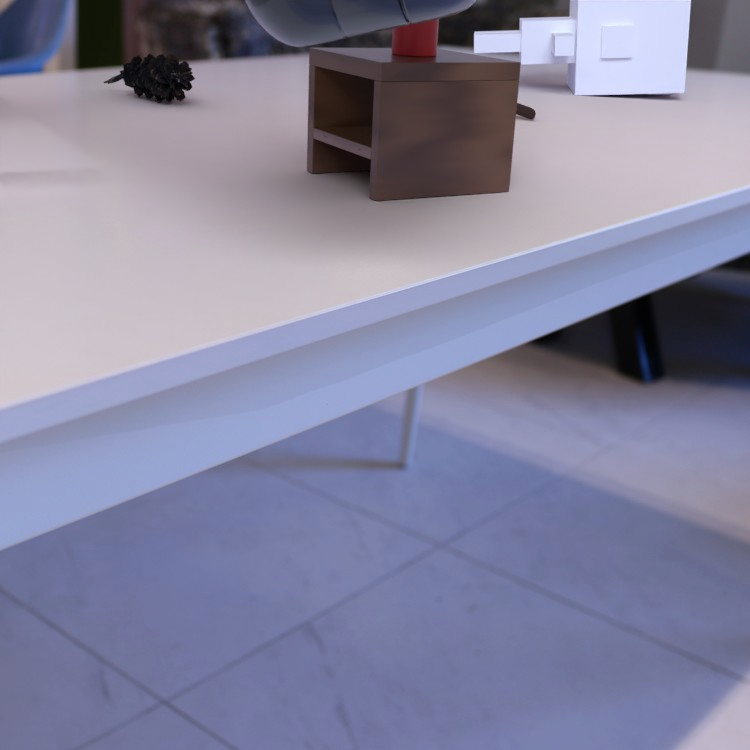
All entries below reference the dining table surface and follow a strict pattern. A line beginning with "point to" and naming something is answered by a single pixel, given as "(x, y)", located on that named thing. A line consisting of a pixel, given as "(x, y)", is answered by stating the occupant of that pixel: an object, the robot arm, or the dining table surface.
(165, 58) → the pine cone
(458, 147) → the shelf
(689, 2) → the blocky voxel creature
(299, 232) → the dining table surface
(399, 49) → the bottle
